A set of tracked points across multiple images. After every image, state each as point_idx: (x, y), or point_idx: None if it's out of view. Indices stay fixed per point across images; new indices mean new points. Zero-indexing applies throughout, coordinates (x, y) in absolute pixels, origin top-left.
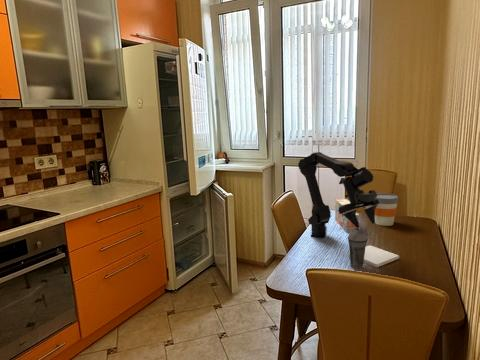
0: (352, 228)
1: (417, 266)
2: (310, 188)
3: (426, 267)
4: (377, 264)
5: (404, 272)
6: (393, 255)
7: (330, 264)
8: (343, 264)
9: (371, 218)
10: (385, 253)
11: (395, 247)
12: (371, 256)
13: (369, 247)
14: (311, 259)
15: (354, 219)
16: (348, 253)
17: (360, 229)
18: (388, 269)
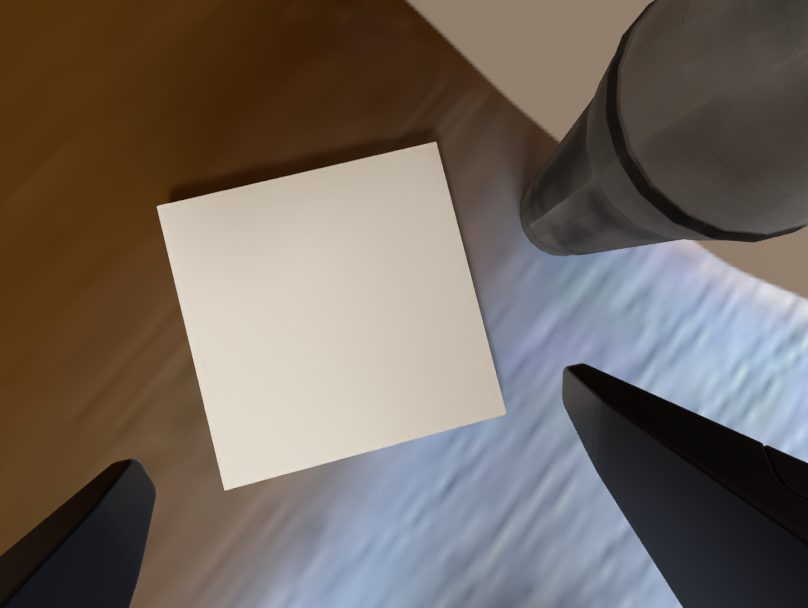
0: None
1: (149, 49)
2: None
3: (101, 12)
4: (430, 143)
5: (310, 13)
6: (195, 226)
7: (713, 318)
8: (626, 282)
9: (85, 594)
10: (228, 285)
11: (20, 407)
12: (378, 277)
13: (265, 447)
14: (800, 450)
15: (784, 470)
16: (505, 412)
17: (800, 50)
18: (379, 92)
